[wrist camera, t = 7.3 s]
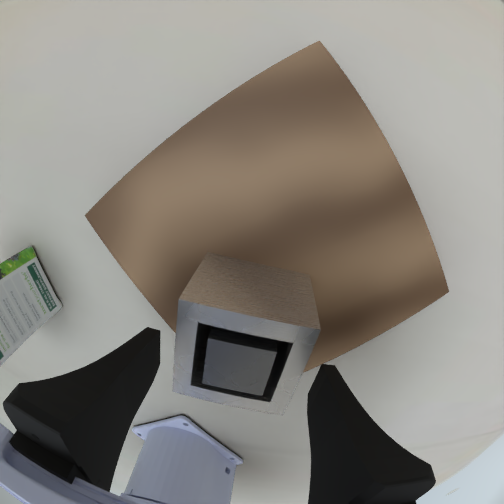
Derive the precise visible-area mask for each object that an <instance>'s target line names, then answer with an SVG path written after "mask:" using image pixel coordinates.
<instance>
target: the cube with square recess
mask: <svg viewBox="0 0 504 504" xmlns="http://www.w3.org/2000/svg"><path fill="white" fill-rule="evenodd" d="M212 326H215V327H219V328H223V329H228V330H232V331H237V332H241V333H246V334H250V335H255V336H260V337H265V338H270V339H275V340H277V354H276V357H275V360H274V363H273V366H272V369H271V372H270V375H269V378H268V381H267V384H266V387H265V390H264V393H263V396H261V395H255V394H250V393H244V392H239V391H234V390H229V389H225V388H220V387H215V386H211V385H207V384H203V383H202V381H203V373H204V365H205V358H206V350H207V343H208V337H209V334H210V331H211V329H212ZM320 331H321V328H320V323H319V318H318V313H317V308H316V303H315V298H314V293H313V288H312V284H311V279H310V275H309V274H304V273H299V272H295V271H290V270H286V269H281V268H277V267H272V266H267V265H263V264H258V263H254V262H249V261H245V260H241V259H236V258H232V257H227V256H223V255H218V254H214V253H209V252H207V254H206V256H205V257H204V259H203V260H202V262H201V264H200V265H199V267H198V268H197V270H196V272H195V273H194V275H193V276H192V278H191V280H190V281H189V283H188V284H187V286H186V288H185V289H184V291H183V293H182V294H181V296H180V298H179V301H178V312H177V324H176V338H175V353H174V371H173V392H177V393H180V394H184V395H187V396H191V397H195V398H199V399H203V400H207V401H211V402H215V403H220V404H224V405H229V406H234V407H239V408H244V409H249V410H255V411H260V412H266V413H273V414H280V415H283V414H284V412H285V410H286V408H287V406H288V404H289V402H290V399H291V397H292V395H293V393H294V391H295V389H296V387H297V384H298V382H299V380H300V378H301V375H302V373H303V371H304V369H305V366H306V364H307V362H308V360H309V357H310V355H311V352H312V350H313V348H314V345H315V343H316V340H317V338H318V336H319V333H320Z"/></svg>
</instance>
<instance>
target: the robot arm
mask: <svg viewBox="0 0 504 504" xmlns="http://www.w3.org/2000/svg"><path fill="white" fill-rule="evenodd" d="M159 365H160V331H159V330H156V329H152V328H149V327H147V328H145V329H144V330H143V331H141V332H140V333H138V334H137V335H136V336H134V337H133V338H132V339H130V340H129V341H127V342H126V343H124V344H123V345H121V346H120V347H119V348H117V349H116V350H114V351H112V352H111V353H109V354H107V355H106V356H104V357H102V358H101V359H99V360H97V361H95V362H93V363H91V364H89V365H87V366H85V367H83V368H80V369H78V370H75V371H72V372H70V373H67V374H64V375H61V376H57V377H54V378H50V379H45V380H40V381H34V382H27V383H19V384H18V385H17V386H16V387H15V389H14V390H13V391H12V392H11V393H10V395H9V396H8V397H7V398H6V399H5V401H4V402H3V407H4V410H5V412H6V414H7V416H8V417H9V419H10V420H11V422H12V423H13V425H14V426H15V428H16V429H17V431H16V432H15V434H13V433H12V432H11V431H10V430H8V429H7V428H6V427H5V426H3V425H2V424H1V423H0V486H1V487H2V488H4V489H5V490H6V491H7V492H9V493H10V494H11V495H13V496H14V497H15V498H17V499H18V500H19V501H21V502H22V503H24V504H230V501H231V494H232V488H233V481H234V475H235V468H236V465H239V464H242V463H243V460H242V459H241V458H240V457H238V456H237V455H235V454H234V453H232V452H231V451H230V450H228V449H227V448H225V447H224V446H223V445H221V444H220V443H219V442H217V441H216V440H215V439H213V438H212V437H211V436H209V435H208V434H207V433H205V432H204V431H203V430H202V429H200V428H199V427H198V426H197V425H195V424H194V423H193V422H192V421H190V420H189V419H188V418H187V417H185V416H182V415H181V416H176V417H173V418H169V419H165V420H161V421H157V422H153V423H149V424H144V425H140V426H135V427H133V428H132V431H133V432H134V433H135V434H136V435H137V436H139V437H140V438H141V439H143V440H144V441H145V442H144V444H143V447H142V449H141V452H140V454H139V457H138V459H137V462H136V464H135V467H134V469H133V472H132V474H131V477H130V479H129V482H128V484H127V487H126V490H125V492H124V493H121V496H117V495H115V494H112V493H110V487H111V484H112V480H113V476H114V472H115V469H116V465H117V462H118V459H119V455H120V453H121V450H122V447H123V444H124V441H125V438H126V435H127V433H128V430H129V428H130V425H131V423H132V421H133V418H134V416H135V415H136V413H137V411H138V409H139V407H140V405H141V403H142V402H143V400H144V398H145V396H146V394H147V392H148V391H149V389H150V387H151V385H152V383H153V381H154V378H155V376H156V373H157V370H158V368H159ZM307 416H308V426H309V437H310V447H311V478H310V491H309V500H308V504H416V500H417V499H418V498H419V497H421V496H422V495H424V494H425V493H426V492H428V491H429V490H430V489H431V488H432V487H433V486H434V485H435V482H436V480H435V477H434V473H433V470H432V467H431V465H430V464H428V463H426V462H425V461H423V460H421V459H419V458H418V457H416V456H414V455H413V454H411V453H410V452H408V451H407V450H406V449H404V448H403V447H401V446H400V445H399V444H398V443H396V442H395V441H394V440H393V439H392V438H391V437H389V436H388V435H387V434H386V433H385V432H384V431H383V430H382V429H381V428H380V427H379V426H378V425H377V424H376V423H375V422H374V421H373V419H372V418H371V417H370V416H369V415H368V413H367V412H366V411H365V410H364V408H363V407H362V406H361V404H360V403H359V402H358V400H357V399H356V398H355V396H354V395H353V393H352V392H351V390H350V389H349V387H348V386H347V384H346V383H345V381H344V379H343V378H342V376H341V375H340V373H339V371H338V370H337V368H336V367H335V365H327V364H322V365H321V367H320V369H319V371H318V374H317V376H316V378H315V380H314V382H313V384H312V386H311V389H310V391H309V393H308V404H307Z"/></svg>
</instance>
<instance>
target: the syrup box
mask: <svg viewBox="0 0 504 504" xmlns="http://www.w3.org/2000/svg"><path fill="white" fill-rule="evenodd" d="M61 307H62V304H61V302H60V300H59V299H58V298H57V297H56V295H55V293H54V291H53V289H52V287H51V285H50V283H49V281H48V279H47V277H46V275H45V273H44V271H43V269H42V267H41V265H40V263H39V261H38V259H37V257H36V254H35V251H34V249H33V247H31V246H30V247H28V248H26V249H24V250H23V251H21V252H19V253H17V254H16V255H14V256H12V257H11V258H9V259H7V260H6V261H4V262H2V263H1V264H0V366H1V365H2V364H3V363H4V362H5V361H6V360H7V359H8V358H9V357H10V356H11V355H12V354H13V353H14V352H15V351H16V350H17V349H18V348H19V347H20V346H21V345H22V344H23V343H24V342H25V341H26V340H27V339H28V338H29V337H30V336H31V335H32V334H33V333H34V332H35V331H36V330H37V329H38V328H39V327H40V326H41V325H42V324H44V323H45V322H46V321H47V320H48V319H50V318H51V317H52V316H53V315H54V314H55V313H56V312H58V311H59V310H60V309H61Z"/></svg>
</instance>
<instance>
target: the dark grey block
mask: <svg viewBox="0 0 504 504" xmlns="http://www.w3.org/2000/svg"><path fill="white" fill-rule="evenodd" d="M276 354H277V340H275V339H270V338H265V337H260V336H255V335H250V334H246V333H241V332H237V331H232V330H228V329H223V328H219V327H215V326H212V329H211V331H210V334H209V337H208V343H207V350H206V358H205V365H204V373H203V381H202V383H203V384H207V385H211V386H215V387H220V388H225V389H229V390H234V391H239V392H244V393H250V394H255V395H261V396H263V393H264V390H265V387H266V384H267V381H268V378H269V375H270V372H271V369H272V366H273V363H274V360H275V357H276Z"/></svg>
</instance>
